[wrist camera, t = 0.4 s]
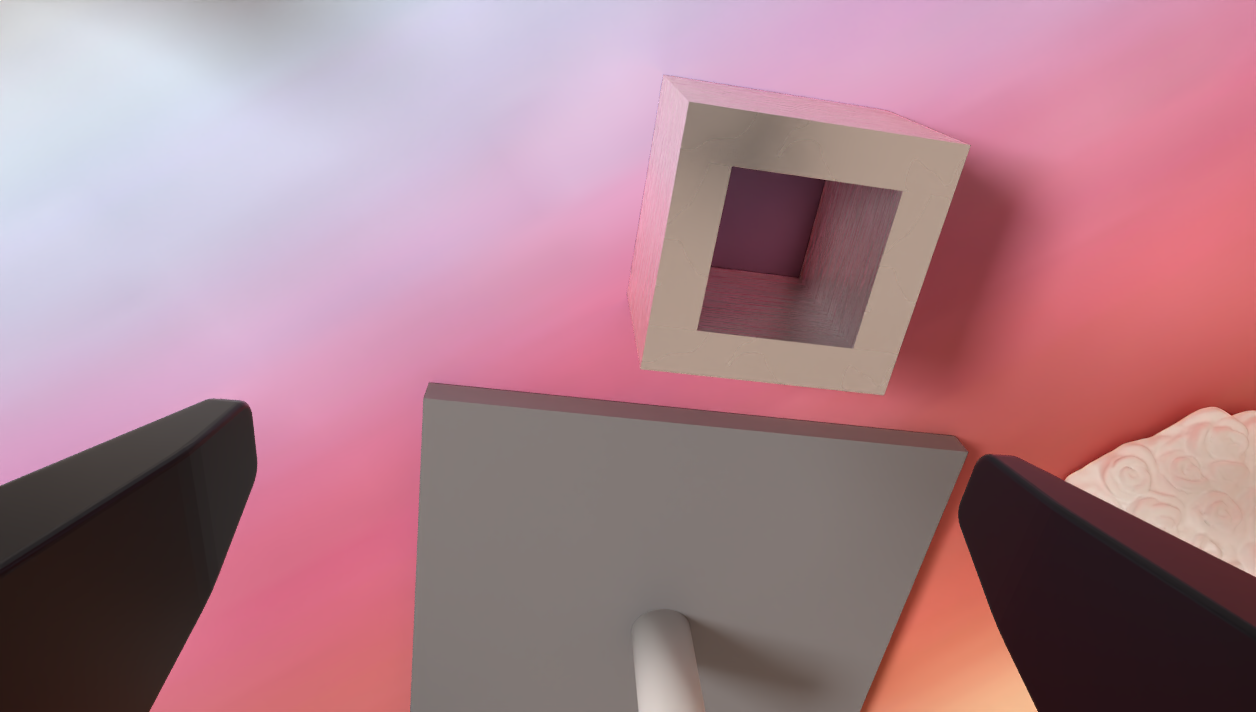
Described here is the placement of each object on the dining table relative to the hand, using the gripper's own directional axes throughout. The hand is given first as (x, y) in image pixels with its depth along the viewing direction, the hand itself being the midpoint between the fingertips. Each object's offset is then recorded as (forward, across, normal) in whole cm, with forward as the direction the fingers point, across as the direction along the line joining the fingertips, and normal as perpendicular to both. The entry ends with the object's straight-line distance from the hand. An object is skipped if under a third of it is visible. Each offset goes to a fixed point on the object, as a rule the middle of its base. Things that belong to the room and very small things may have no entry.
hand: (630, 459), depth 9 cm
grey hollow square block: (+14, -5, 0) cm, 15 cm away
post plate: (+14, -4, +16) cm, 22 cm away
